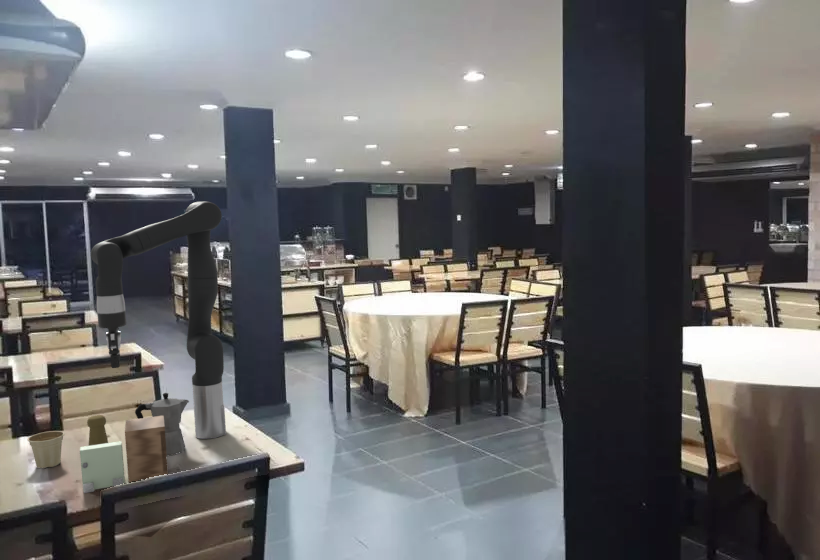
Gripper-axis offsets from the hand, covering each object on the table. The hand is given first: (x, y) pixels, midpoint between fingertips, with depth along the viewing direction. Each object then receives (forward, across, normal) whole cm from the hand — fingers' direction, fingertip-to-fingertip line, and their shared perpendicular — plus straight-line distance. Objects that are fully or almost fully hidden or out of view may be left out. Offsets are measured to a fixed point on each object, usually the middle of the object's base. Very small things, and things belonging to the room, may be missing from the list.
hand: (116, 364), depth 196 cm
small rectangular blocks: (+28, -22, +4) cm, 36 cm away
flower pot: (+28, +2, +20) cm, 35 cm away
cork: (+28, +8, +7) cm, 30 cm away
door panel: (+28, -22, +4) cm, 36 cm away
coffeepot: (+28, -2, -12) cm, 31 cm away
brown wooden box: (+28, -17, -7) cm, 33 cm away
